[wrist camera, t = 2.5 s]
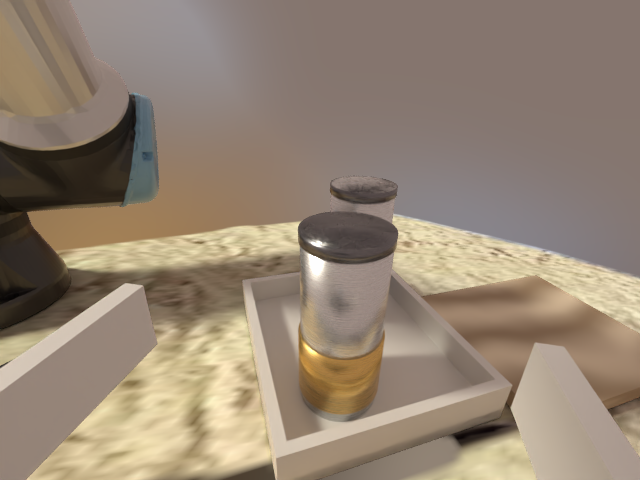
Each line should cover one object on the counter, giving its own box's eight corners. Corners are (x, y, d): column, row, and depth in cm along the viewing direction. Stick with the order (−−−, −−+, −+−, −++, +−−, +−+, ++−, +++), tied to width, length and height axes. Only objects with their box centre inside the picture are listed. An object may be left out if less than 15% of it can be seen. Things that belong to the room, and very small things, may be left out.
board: (415, 308, 37) (417, 297, 37) (532, 285, 43) (536, 275, 42) (537, 435, 24) (544, 422, 23) (688, 378, 29) (697, 366, 28)
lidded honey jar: (290, 367, 28) (287, 215, 22) (357, 351, 30) (370, 207, 24) (311, 434, 22) (314, 257, 16) (391, 410, 24) (419, 243, 18)
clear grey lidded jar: (318, 295, 38) (321, 177, 32) (367, 287, 39) (378, 174, 33) (337, 330, 32) (345, 196, 26) (392, 319, 34) (411, 191, 28)
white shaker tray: (244, 305, 37) (242, 280, 36) (379, 283, 42) (382, 259, 41) (278, 493, 20) (276, 458, 18) (500, 417, 25) (512, 385, 23)
